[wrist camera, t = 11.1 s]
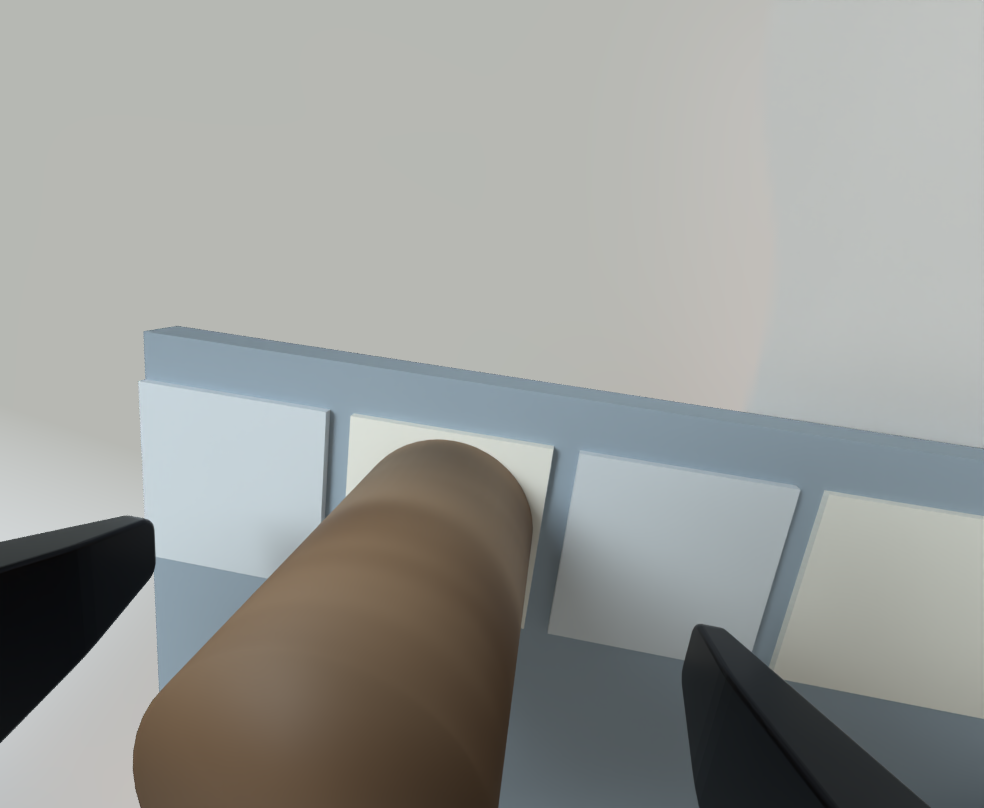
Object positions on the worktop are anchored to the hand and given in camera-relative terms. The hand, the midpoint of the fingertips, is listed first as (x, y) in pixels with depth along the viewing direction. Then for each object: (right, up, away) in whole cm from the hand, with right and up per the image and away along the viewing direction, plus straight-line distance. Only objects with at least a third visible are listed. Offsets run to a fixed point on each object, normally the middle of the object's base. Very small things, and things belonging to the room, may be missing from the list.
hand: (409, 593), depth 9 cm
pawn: (0, +1, +2) cm, 2 cm away
